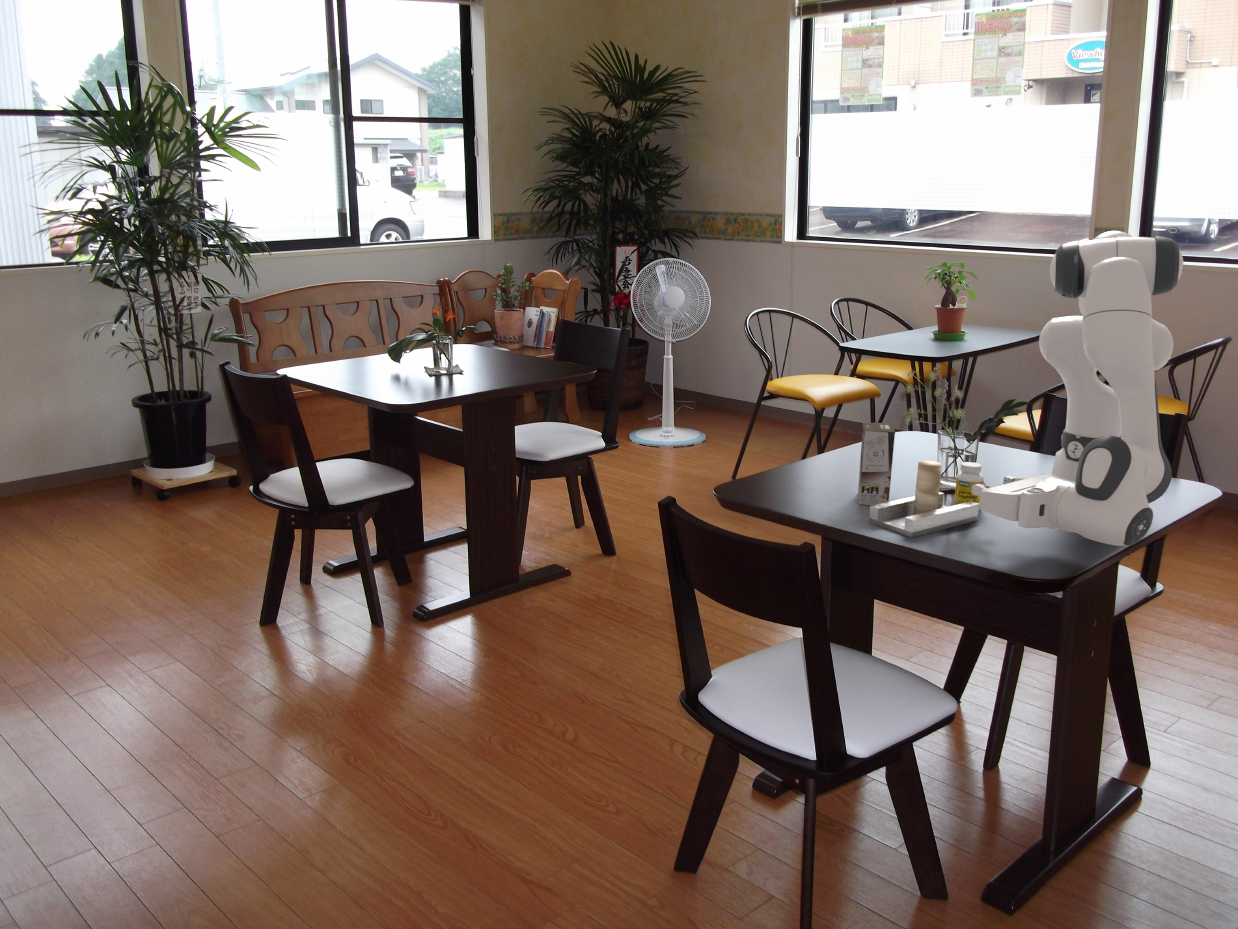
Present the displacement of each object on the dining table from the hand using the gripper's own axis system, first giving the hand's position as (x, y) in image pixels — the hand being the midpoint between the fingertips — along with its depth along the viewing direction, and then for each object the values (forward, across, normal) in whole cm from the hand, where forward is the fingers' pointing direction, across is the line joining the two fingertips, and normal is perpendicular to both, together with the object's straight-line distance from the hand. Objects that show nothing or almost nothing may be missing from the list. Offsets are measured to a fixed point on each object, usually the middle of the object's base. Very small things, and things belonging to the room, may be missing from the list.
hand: (990, 484), depth 200 cm
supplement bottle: (+15, -14, +12) cm, 23 cm away
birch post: (+14, +1, +10) cm, 17 cm away
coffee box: (+30, -2, +12) cm, 32 cm away
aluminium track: (+14, +1, +11) cm, 17 cm away
